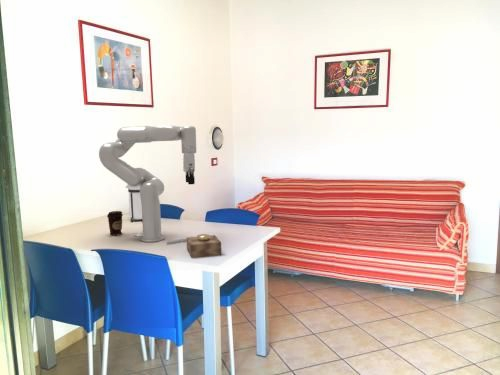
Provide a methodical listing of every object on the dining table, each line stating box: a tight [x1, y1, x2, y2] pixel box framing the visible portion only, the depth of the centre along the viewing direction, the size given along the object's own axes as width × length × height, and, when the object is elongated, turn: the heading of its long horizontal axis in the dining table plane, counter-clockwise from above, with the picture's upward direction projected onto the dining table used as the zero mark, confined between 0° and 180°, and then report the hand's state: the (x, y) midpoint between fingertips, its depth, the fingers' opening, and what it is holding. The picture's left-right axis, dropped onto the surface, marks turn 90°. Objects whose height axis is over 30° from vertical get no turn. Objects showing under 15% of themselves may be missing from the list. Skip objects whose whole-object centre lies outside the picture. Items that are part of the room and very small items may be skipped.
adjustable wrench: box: [166, 234, 212, 246], centre depth 216 cm, size 25×6×2 cm, turn 119°
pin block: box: [186, 234, 222, 259], centre depth 193 cm, size 14×14×6 cm
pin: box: [196, 233, 210, 241], centre depth 193 cm, size 6×6×8 cm
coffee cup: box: [106, 210, 124, 237], centre depth 230 cm, size 9×8×13 cm
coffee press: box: [125, 184, 142, 223], centre depth 269 cm, size 17×16×30 cm
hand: (190, 183), depth 213 cm, fingers open, 9 cm apart
